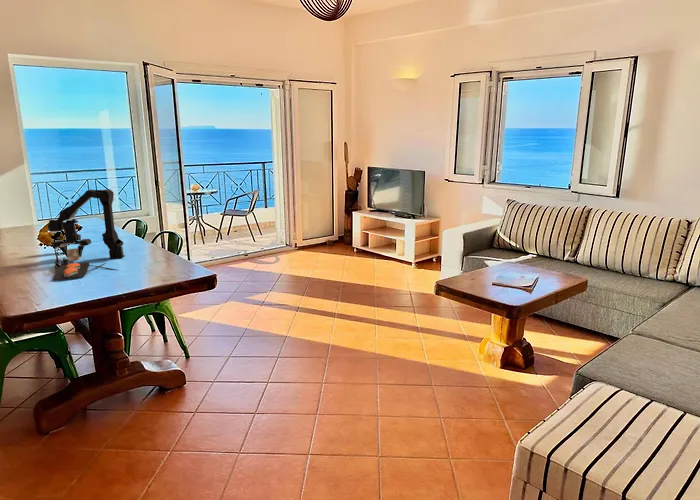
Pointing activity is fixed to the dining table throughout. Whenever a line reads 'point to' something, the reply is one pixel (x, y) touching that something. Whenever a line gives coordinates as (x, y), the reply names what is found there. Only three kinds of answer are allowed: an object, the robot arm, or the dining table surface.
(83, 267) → the sushi plate
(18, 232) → the dining table surface
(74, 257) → the birch block
